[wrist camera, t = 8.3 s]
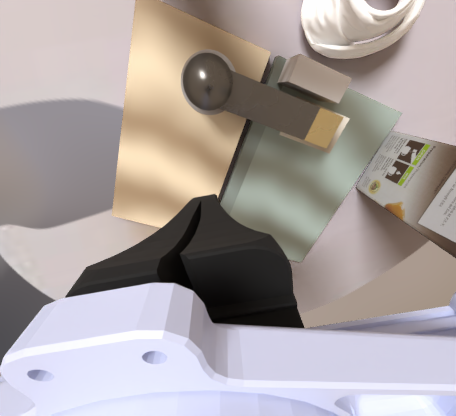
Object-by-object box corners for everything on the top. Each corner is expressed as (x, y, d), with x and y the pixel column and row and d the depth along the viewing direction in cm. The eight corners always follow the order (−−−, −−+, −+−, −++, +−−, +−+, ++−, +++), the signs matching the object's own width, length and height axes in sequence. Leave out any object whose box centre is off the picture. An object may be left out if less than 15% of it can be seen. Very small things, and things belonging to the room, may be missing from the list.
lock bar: (183, 98, 17) (177, 100, 14) (194, 51, 15) (189, 43, 13) (311, 146, 19) (327, 155, 16) (331, 108, 18) (351, 112, 15)
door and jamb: (298, 257, 27) (310, 281, 24) (115, 210, 23) (97, 232, 19) (393, 112, 19) (433, 117, 16) (141, -5, 15) (118, -34, 11)
